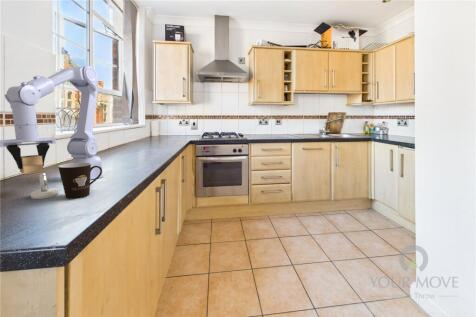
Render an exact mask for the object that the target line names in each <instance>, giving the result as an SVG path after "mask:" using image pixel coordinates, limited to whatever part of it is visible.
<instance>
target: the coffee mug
mask: <svg viewBox="0 0 476 317" xmlns="http://www.w3.org/2000/svg"><path fill="white" fill-rule="evenodd" d="M57 167H58V171H59V175H60V179H61V183H62V184H61V185H62V188H63V192H64V196H65V199H68V200H76V199H77V200H78V199H83V198H86V197H88V196H90V193H91V192H90V191H91V190H90V189H91V185H92V184H94V183H95V181H97V180H98V179H100V178H99V177H100V176H101V174H102V175H103V167H102V168H101V167H99V166H93V167H91V163H73V162H71V163H64V164H60V165H58V166H57ZM96 167H97V168H99V169H100V174H99V175H98V177H96V178H95V179H92V180H91V179H90V173H91V170H92V169H93V168H96Z"/></svg>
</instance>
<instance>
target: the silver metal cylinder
mask: <svg viewBox="0 0 476 317" xmlns="http://www.w3.org/2000/svg"><path fill="white" fill-rule="evenodd" d="M38 177H39V179H38V180H39V185H40V186H39V187H40V189H41V192H46V191H48V188H49V187H48V177H47V174H46V173H45V172H39V175H38Z"/></svg>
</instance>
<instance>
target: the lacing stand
mask: <svg viewBox="0 0 476 317" xmlns="http://www.w3.org/2000/svg"><path fill="white" fill-rule="evenodd" d="M58 195H59V189H58V188H56V187H51V188H49V187H48V191H46V192H41V188H40V189H36V190H33V191H30V199H32V200H43V199H50V198H54V197H57V196H58Z"/></svg>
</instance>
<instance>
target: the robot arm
mask: <svg viewBox="0 0 476 317" xmlns="http://www.w3.org/2000/svg"><path fill="white" fill-rule="evenodd" d="M32 78H33V79H31V80H29V81H21V82H20V84H19V85H17V86H16V85H15V86H14V85H13V86H10V87H8V89H7V91H6V94H4V98H5V99H6V101H7V102H8V103H9V105H10V108H11V111H12V112H11V113H12V119H13V128H14V134H15V138H13V139H12V138H11V139H0V148H4V147H6V150H7V151H8V152H9V153H10V155H11V156H12V158H13V160H14V161H15V164H16V165H17V169H18V170H20V169H22V161H21V156H22V155H21V153H22V150H21V146H31V145H33V146H34V145H35V147H36V150H37V155H39V156H42V162H43V167H44V166H45V160H46V157H47V153H48V152H49V149H50V147H51V146H50V144H54V145H55V144H56V143H57V141H56V137H39V128H38V121H37V112H36V111H37V110H36V104H38V102H39V101H40V99H41V98H44V97H45V96H47V95H50V94H51V93H53V92H54V90H55V87H57V86H59V85H62V84H65V83H66V82H69V83H70V84H71V85H72V86H73V87H74V88H75V89H77V91H79V92H80V93H81V97H80V105H79V110H78V118H77V125H76V131H75V132H74V133H73V134H71V136H70V139H69V141H68V143H67V145H66V150H67V152H68V154H69V155H70V156H71V158H72V160H73V162H72V163H91V167H93V166H99V167H101V168H102V169H103V164H102V159H101V156H99V155H96V154H97V153H98V151H99V146H98V138H97V137H96V136H95V135H94V134H93V131H94V123H95V115H96V107H97V101H98V93H99V91H98V82H99V73H98V72H97V71H96V69H95V67H93V66H91V65H85V66H69V67H64V68H63V69H62V70H59V71H57V72H55V73H54V74H52V75H50V76H48V77H47V76H40V75H35V76H32ZM99 174H100V169H99V168H97V167H96V168H93V169H92V170H91V173H90V180H94V179H95V178H96V177H98V175H99ZM101 178H104V175H103V173H102V174H101V176H100V177H99V178H98V179H101Z"/></svg>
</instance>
